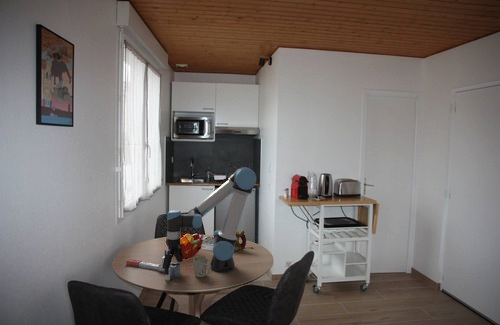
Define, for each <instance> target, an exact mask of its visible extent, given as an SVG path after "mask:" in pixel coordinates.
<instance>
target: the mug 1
mask: <svg viewBox="0 0 500 325" xmlns="http://www.w3.org/2000/svg"><path fill="white" fill-rule="evenodd" d="M208 260H209V259H208V257H207V256H206V255H205V256H204V255H197V256H194V257H193V258H192V262H193V271H194V272H193V273H194V276H195V277H196V278H203V277H205V276H209V274H210V272H211V268H210V266H209V264H208Z"/></svg>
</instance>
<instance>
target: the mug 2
mask: <svg viewBox="0 0 500 325" xmlns="http://www.w3.org/2000/svg"><path fill="white" fill-rule="evenodd" d="M236 237H237V240H236V243H235V247H234V253H236V252H238V251H240V250H241V251H243V250H244V249H245V248H246V245H247V238H246V235H245V231H244V230H242V231H241V232H240V233H239V231H236ZM240 239H241V243H240Z"/></svg>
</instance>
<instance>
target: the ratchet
mask: <svg viewBox="0 0 500 325" xmlns="http://www.w3.org/2000/svg"><path fill="white" fill-rule="evenodd" d="M163 262H164V256H162V257H161V264H157V263H152V262H145V261H142V260H139V259H134V258H133V259H132V258H129V259H127V260H126V261H125V266H129V267H134V268H141V269H146V270H147V269H148V270H153V271H158V273H163V274H165V269H163V268H162V267H163Z"/></svg>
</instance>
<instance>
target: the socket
mask: <svg viewBox="0 0 500 325" xmlns="http://www.w3.org/2000/svg"><path fill="white" fill-rule="evenodd" d="M169 268H170V280H176V279H178V278H179V277H180V276H181V273H180V264H179V263H176V262H172V261H171V264H170V267H169Z"/></svg>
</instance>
